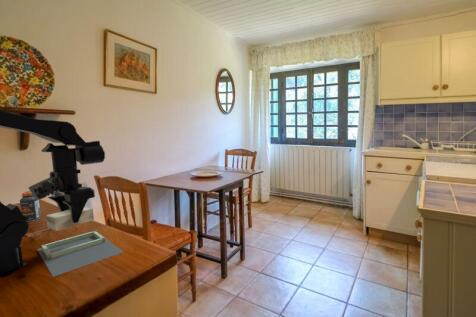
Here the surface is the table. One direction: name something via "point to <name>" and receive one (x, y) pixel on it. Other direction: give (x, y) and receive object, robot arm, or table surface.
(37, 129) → the robot arm
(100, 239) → the tray frame
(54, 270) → the mat
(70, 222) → the card box
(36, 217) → the pill bottle
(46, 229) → the key
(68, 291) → the table surface
